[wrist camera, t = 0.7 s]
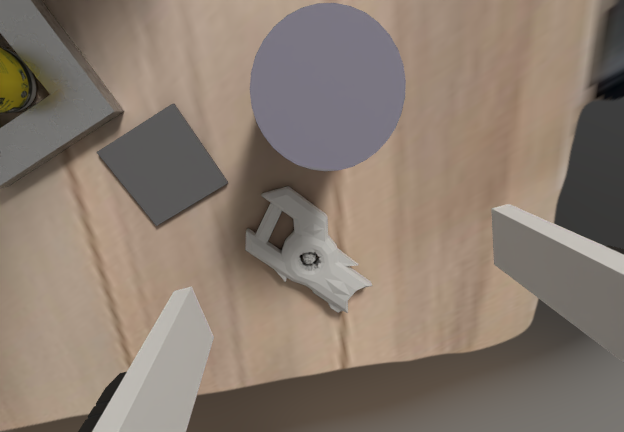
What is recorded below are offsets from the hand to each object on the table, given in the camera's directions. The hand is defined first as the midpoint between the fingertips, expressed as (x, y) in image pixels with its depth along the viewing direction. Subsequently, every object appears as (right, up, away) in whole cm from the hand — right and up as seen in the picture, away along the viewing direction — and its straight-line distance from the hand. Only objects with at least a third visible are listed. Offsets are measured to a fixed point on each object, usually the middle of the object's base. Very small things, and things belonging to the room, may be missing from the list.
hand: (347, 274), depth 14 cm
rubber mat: (-18, +8, +22) cm, 30 cm away
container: (-2, +15, +22) cm, 27 cm away
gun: (-2, -1, +28) cm, 28 cm away
